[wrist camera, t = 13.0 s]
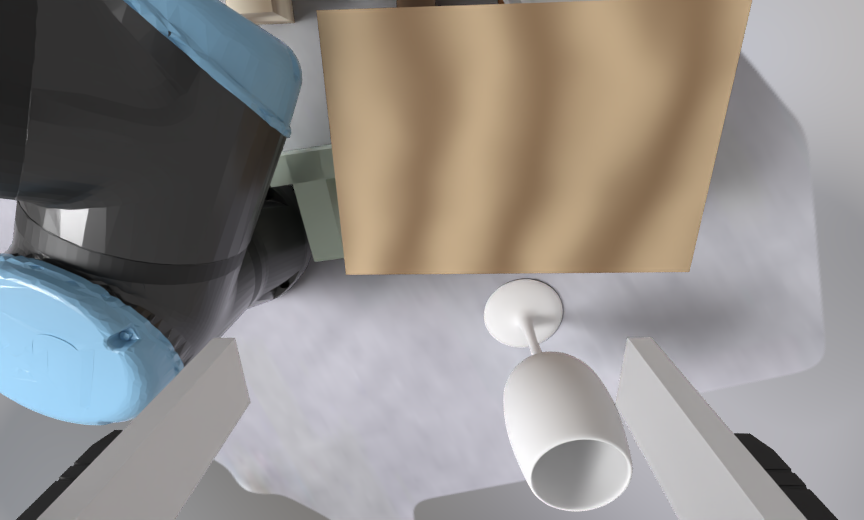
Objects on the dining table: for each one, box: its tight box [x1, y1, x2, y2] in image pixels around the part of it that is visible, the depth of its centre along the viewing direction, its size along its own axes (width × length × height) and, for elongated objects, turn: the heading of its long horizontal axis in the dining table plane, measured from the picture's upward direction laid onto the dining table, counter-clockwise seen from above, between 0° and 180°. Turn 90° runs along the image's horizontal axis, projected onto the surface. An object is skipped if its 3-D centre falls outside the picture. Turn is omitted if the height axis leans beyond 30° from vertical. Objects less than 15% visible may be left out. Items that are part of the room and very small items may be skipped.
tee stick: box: [270, 144, 344, 262], centre depth 39 cm, size 7×10×5 cm
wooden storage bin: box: [316, 0, 752, 275], centre depth 31 cm, size 22×15×16 cm
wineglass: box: [484, 279, 633, 511], centre depth 36 cm, size 9×9×21 cm
